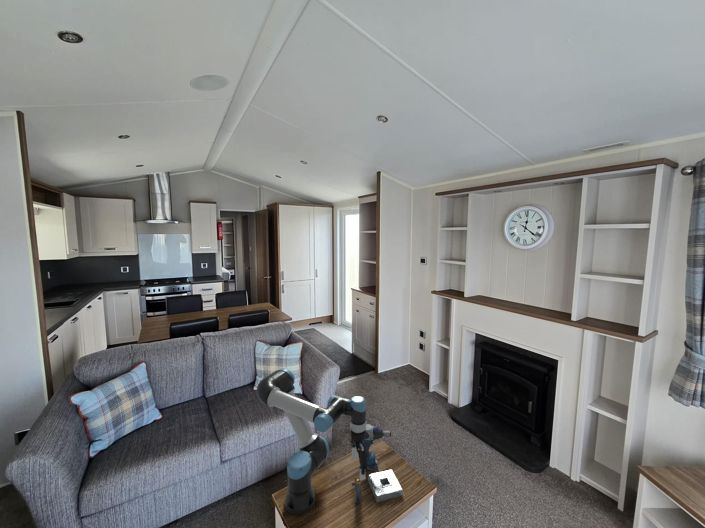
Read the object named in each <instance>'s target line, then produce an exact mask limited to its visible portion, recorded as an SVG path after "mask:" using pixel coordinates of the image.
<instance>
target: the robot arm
mask: <svg viewBox="0 0 705 528" xmlns="http://www.w3.org/2000/svg"><path fill="white" fill-rule="evenodd" d="M294 384H295V376H294V374H293V372H292V371H291V370H289V369H287V368H285V367H284V368H283V367H282V368H279V369H277V370H275V371H273V372H272V373H270V374H268V375H267V376H266V377H263V378H262V379H261V380H260V381H259V383H258V385H257V387H256V395H257V398H258V400H259V401H260V402H261V404H263V405H265V406H267V407H269V408H273V407H275V408H278V409H280V410H282V411H284V414H285V415H286V418H287V419H288V421H289V423H290V425H291V428H292V430H293V432H294V433H295V435H296V437H297V440H298V442H299V445H298V448H299V450H298V452H297V451H296V452H294V453H293V454H292V455H291V456H290V457H289V458H288V460H287V466H286V467H287V468H286V473H287V475H286V476H287V490H286V494H285V496H284V508H285V510H286V511H287V513H289V514H291V515H295V516H301V515H305V514H307V513H308V512H310V511H311V510H312V509H313V507H314V506H315V503H316V494H315V490H314V488H313V485H312V477H313V476H314V474H315V473H316V472H317V471H318V470H319V468H320V466H322V464H324V462H325V461H326V459H327V458H328V456H329V455H330V454H329V453H330V447H329V444H328V441H327V439H326V438H324V437H323V436H320V435H319V434H318V433H316V432H314V430H313V429H312V426H311V424H310V423H313V424H314V425H313V426H314V427H315V429H316V430H317V431H318V432H319V433H325V432H327V431H328V430H329V429H331V428H332V427H333V425H334V424H335V423H336V422H337V421H338V420H339V419H340V418H341V416H347V417H350V424H349V426H350V440H349V441H350V446H351V460H352V461H354V460H357V459H358V462H359V467H358V469H359V477H360V480H361V481H363V480H364V481H365V480H366V471H367V470H366V469H367V462H366V454H365V446H363V443H364V441H363V439H365V437H366V424H367V423H368V422H367V418H366V417H367V403H366V402H367V401H366V399H365V397H364V396H360V395H358V396H357V395H355V396H352V397H351V398H348V397H344V396H340V395H335V394H334V395H333V394H332V395H331V396H329V397H328V401H327V404H326V407H322V406H320V405H317V404H315V403H313V402H310V401H307V400H304V399H301V398H299V397H298V396H296V393H295V390H296V387H295V385H294Z"/></svg>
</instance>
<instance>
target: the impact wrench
mask: <svg viewBox="0 0 705 528" xmlns="http://www.w3.org/2000/svg"><path fill="white" fill-rule="evenodd" d="M391 436H392V432H391V430H383V429H382V428H381V427H379V426H377V425H372V424H367V423H366V437H365V439H363V446H365V454H366V462H367V469H366V470H365V471H369V472H371V471H373V472H376V471H377V469H378V461H379V460H378V459H377V457H376V455H375V452H373V451H370V448H371V446H372V445H373V444H374V442H376V441H377V440H380V439H382V438H383V437H386V438H391Z"/></svg>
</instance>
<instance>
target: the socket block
mask: <svg viewBox="0 0 705 528" xmlns="http://www.w3.org/2000/svg"><path fill="white" fill-rule="evenodd" d="M367 483H368V484H369V487H370V489H371V491H372V494H373V496H374V498H375V502H376V503H379V502H383V501H387V500H392V499H395V498H399V497H403V488H402V486H401V484H400V482H399V480H398V478H397V476H396V475H395V473H394V471H393V469H388V470H384V471H379V472H373V473H370V474H368V475H367Z"/></svg>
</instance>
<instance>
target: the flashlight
mask: <svg viewBox="0 0 705 528" xmlns="http://www.w3.org/2000/svg"><path fill="white" fill-rule="evenodd" d="M362 484H365V479H364V480H360V476H357V477H355V478H354V482H352V483H351V487H354V504H356V505H360V504H361V503H362Z"/></svg>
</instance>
